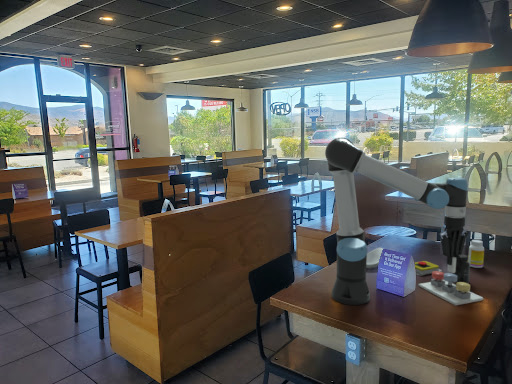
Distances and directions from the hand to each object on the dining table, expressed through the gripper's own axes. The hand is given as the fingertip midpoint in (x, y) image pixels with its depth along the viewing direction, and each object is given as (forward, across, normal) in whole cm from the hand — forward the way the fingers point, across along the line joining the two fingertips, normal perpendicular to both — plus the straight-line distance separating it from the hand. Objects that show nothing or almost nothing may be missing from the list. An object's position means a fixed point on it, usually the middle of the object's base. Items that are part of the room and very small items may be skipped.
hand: (451, 271), depth 158 cm
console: (+9, 0, 0) cm, 9 cm away
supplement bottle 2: (+10, +37, +21) cm, 43 cm away
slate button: (+6, 0, 0) cm, 6 cm away
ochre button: (+7, 0, -6) cm, 9 cm away
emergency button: (+10, +9, +25) cm, 28 cm away
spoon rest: (+9, -8, +41) cm, 43 cm away
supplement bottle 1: (+9, +14, +8) cm, 19 cm away
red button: (+7, 0, +7) cm, 10 cm away
